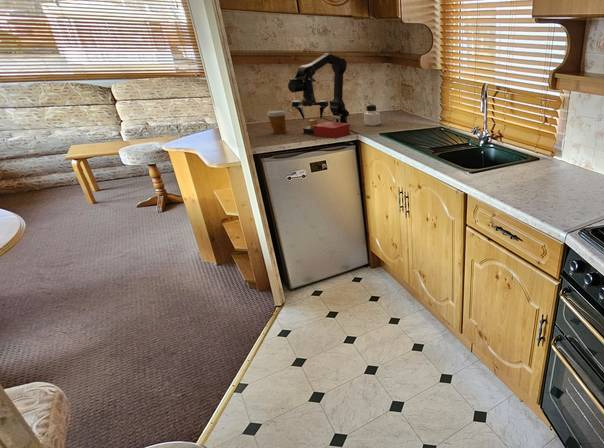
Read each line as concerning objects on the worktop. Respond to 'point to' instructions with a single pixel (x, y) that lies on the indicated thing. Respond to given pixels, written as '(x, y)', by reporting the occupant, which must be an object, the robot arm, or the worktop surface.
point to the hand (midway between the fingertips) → (312, 119)
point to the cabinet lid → (332, 124)
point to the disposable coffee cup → (277, 121)
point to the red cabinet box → (331, 132)
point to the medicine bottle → (371, 116)
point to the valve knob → (313, 122)
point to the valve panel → (308, 130)
